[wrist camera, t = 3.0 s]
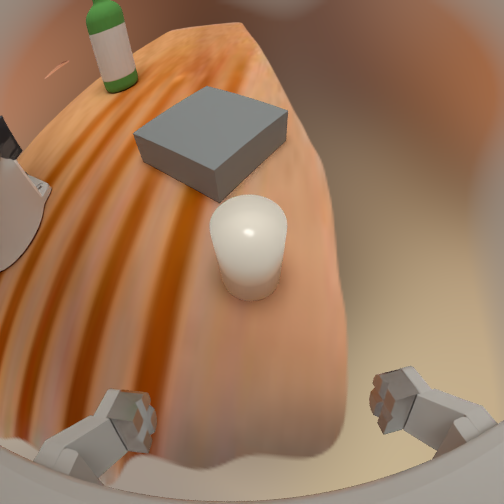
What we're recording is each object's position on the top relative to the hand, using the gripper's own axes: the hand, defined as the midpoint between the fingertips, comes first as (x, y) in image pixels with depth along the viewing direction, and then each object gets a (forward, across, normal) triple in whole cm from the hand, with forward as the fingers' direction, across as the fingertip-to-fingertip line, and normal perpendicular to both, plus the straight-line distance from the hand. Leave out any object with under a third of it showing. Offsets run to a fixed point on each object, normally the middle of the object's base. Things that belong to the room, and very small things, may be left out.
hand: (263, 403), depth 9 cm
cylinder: (+19, 0, +2) cm, 19 cm away
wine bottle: (+52, +25, -32) cm, 66 cm away
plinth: (+32, +4, -12) cm, 34 cm away
